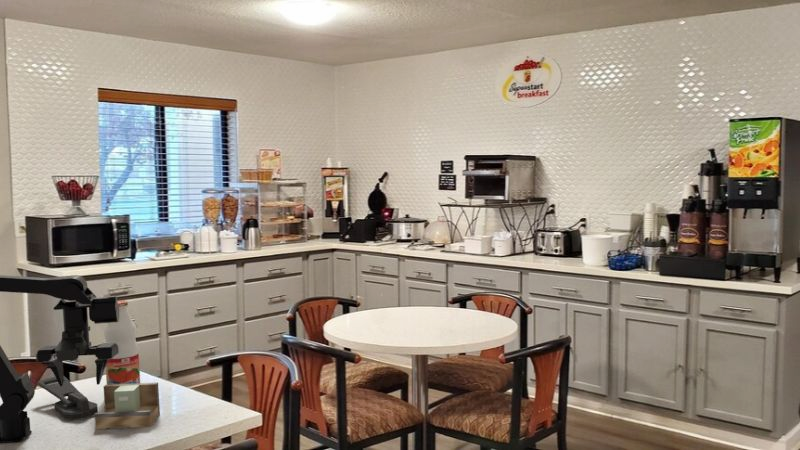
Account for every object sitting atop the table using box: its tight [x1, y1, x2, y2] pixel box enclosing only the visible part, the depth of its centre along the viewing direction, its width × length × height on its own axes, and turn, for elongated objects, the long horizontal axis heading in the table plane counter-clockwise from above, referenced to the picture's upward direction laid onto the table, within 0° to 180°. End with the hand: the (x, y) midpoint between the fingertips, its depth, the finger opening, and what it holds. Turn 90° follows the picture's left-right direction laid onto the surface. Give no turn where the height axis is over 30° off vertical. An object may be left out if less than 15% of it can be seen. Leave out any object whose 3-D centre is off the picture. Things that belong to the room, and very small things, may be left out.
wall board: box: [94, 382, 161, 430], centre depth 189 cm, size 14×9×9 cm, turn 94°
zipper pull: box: [36, 375, 99, 422], centre depth 201 cm, size 9×7×25 cm
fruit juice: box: [103, 300, 141, 385], centre depth 212 cm, size 9×9×28 cm
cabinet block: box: [114, 385, 141, 412], centre depth 188 cm, size 5×6×6 cm
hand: (80, 385), depth 182 cm, fingers open, 9 cm apart
